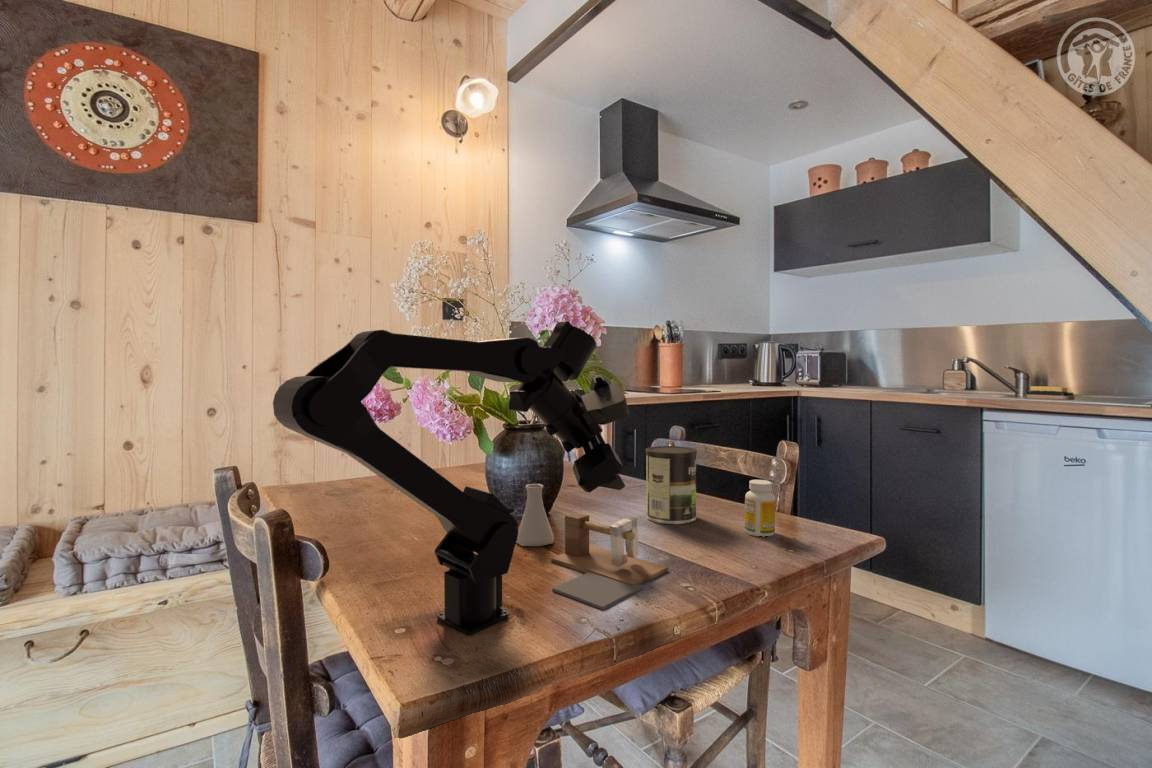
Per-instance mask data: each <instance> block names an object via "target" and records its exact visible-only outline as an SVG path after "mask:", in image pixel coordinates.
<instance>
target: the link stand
mask: <svg viewBox="0 0 1152 768" xmlns="http://www.w3.org/2000/svg"><path fill="white" fill-rule="evenodd" d="M590 531H592V532H597V533H601V534H605V535H608V536H610V526H608V525H603V524H600V523H596V522H592V521H590V515H589V514H587V513H582V512H578V511H577V512H573V513H569V514H566V515H564V553H561V554H558V555H556V556H553V557H551V558H550V559H551V561H550V562H551V563H554V564H557V565H560V566H561V567H562V566H563V567H567V568H569V569H572V570H576V571H577V572H578V571H579V572H581V573H583V574H586V573H588V572H592V573H595V574H598V575H601V576H604V577H607V578H610V579H613V580H616V581H619V582H623V583H626V584H629V585H632V586H634V585H636V584H639V585H643V584H645V583H647V582H650V581H651V580H653V579H656V578H657V577H659V576H661V575H663V574H665V573H666V572H668V571H669V566H666V565H662V564H659V563H656V562H653V561H652V562H651V561H648V560H645V559H641V558H638V557H635V558H631V557H627V558H628V562H626V563H625V564H623V565H621V566H620V567H618V566H615V565H612V559H611V549H606V548H602V547H599V546H595V545H592V544H590ZM623 538H624V540H625V539H627V540H633V539H634V538H635V535H634V533H632V532H629V531H628V532H626V533H624V534H623Z"/></svg>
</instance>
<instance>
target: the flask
mask: <svg viewBox="0 0 1152 768" xmlns="http://www.w3.org/2000/svg"><path fill="white" fill-rule="evenodd" d="M543 489H544V484H542V483H531V484H529V483H528V484H526V485H525V490H526V492H527V493H526V502H525V508H524V511H523V514H522V519H521V521H520V523H519V526H518V538H517V541H516V544H518V545H520V546H522V547H542V546H546V545H552V544H554V541H555V535H554V532H553V530H552V527H551V524H550V522H549V520H548V519H549V518H548V516H547V513H546V509H545V507H544V500H543V496H542V495H543Z"/></svg>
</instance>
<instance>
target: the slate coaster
mask: <svg viewBox="0 0 1152 768" xmlns="http://www.w3.org/2000/svg"><path fill="white" fill-rule="evenodd" d="M551 588H552V589H551V590H552V592H554V593H558V594H560V595H562V596H565V597H568V598H569V599H570V598H571V599H572V600H576V601H578V602H581V603H583V604H586V605H589V606H592V607H593V608H597V609H600V610H603V611H604V610H606V609H608V608H609V607H612V606H613V605H615V604H617V603H618V602H621V601H623V600H625V599H626V598H628V597H630V596H632V595H634V594H635V593H638V592H639V591H641V590H643V589H644V585H643V584H642V585H639V584H636V585H634V586H632V585H629V584H626V583H623V582H619V581H616V580H613V579H610V578H607V577H604V576H601V575H598V574H595V573H592V572H588V573H583V574H581V575H579V576H577V577H574V578H572V579H570V580H568V581H566V582H563V583H561V584H559V585H555V586H553V587H551Z"/></svg>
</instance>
